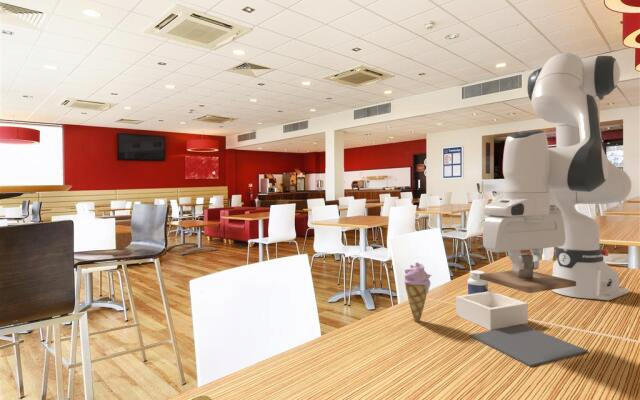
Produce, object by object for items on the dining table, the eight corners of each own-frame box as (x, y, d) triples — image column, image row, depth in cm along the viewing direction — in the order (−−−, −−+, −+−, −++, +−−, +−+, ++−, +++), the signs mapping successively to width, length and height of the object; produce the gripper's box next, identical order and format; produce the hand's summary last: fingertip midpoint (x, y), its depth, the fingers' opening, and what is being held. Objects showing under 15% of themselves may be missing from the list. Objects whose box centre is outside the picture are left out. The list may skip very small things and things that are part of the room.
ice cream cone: (432, 318, 100) (431, 261, 100) (431, 326, 94) (430, 266, 94) (406, 316, 102) (405, 260, 102) (403, 324, 96) (403, 265, 96)
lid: (522, 273, 91) (522, 248, 91) (576, 286, 79) (576, 257, 79) (479, 278, 86) (479, 252, 86) (529, 293, 74) (529, 262, 74)
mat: (522, 326, 94) (522, 324, 94) (588, 352, 79) (588, 350, 79) (470, 336, 88) (470, 334, 88) (530, 366, 73) (530, 364, 73)
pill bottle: (489, 308, 107) (489, 274, 107) (469, 307, 108) (469, 273, 108) (485, 302, 112) (485, 270, 112) (466, 302, 113) (465, 269, 113)
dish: (490, 308, 107) (490, 291, 107) (527, 322, 96) (527, 303, 95) (456, 314, 103) (455, 296, 102) (490, 330, 91) (490, 309, 91)
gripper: (547, 203, 89) (547, 263, 89) (477, 207, 82) (478, 271, 82) (573, 204, 83) (573, 268, 83) (501, 208, 76) (501, 277, 76)
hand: (525, 269), depth 83 cm, fingers closed on lid, 3 cm apart
